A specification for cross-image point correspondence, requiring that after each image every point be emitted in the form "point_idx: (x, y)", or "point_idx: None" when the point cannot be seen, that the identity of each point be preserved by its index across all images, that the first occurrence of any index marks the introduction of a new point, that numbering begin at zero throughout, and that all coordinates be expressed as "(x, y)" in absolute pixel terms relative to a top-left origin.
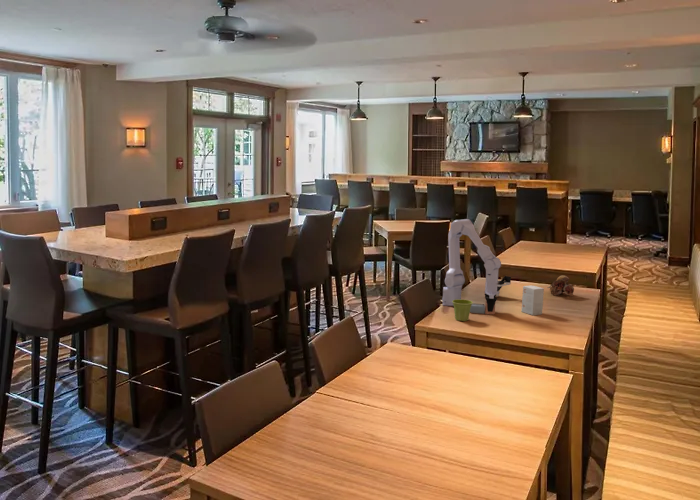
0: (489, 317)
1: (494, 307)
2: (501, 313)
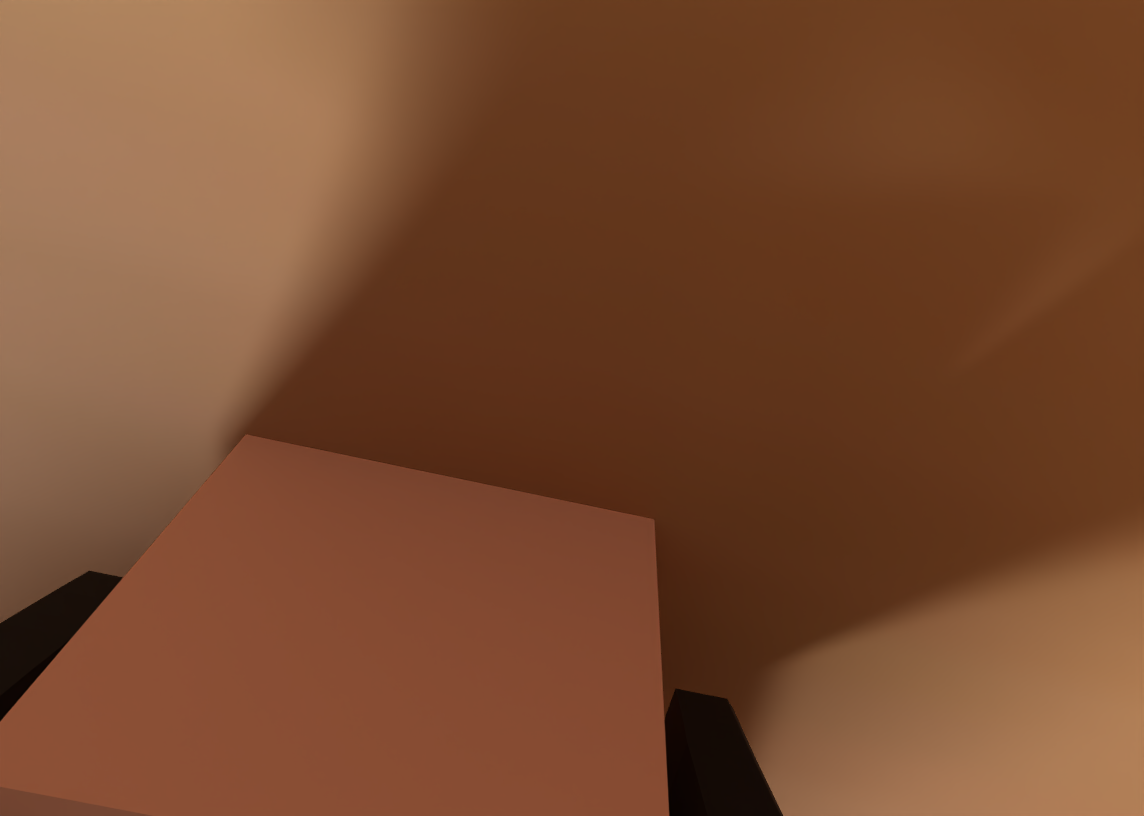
0: (1076, 776)
1: (659, 762)
2: (481, 192)
